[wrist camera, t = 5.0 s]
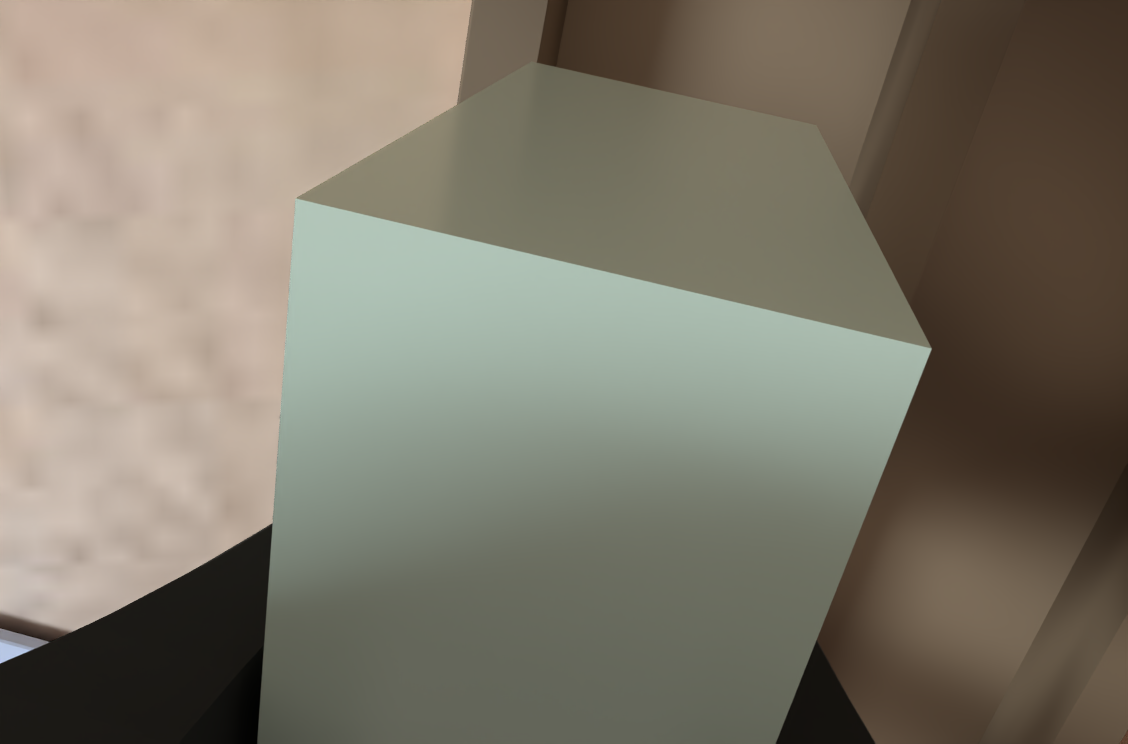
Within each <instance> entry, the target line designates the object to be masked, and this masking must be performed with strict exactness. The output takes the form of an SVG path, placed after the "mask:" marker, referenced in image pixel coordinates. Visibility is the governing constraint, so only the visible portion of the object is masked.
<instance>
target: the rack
mask: <svg viewBox="0 0 1128 744" xmlns="http://www.w3.org/2000/svg"><path fill="white" fill-rule="evenodd" d="M530 62H536V63H540V64H545V65H549V66H554V67H558V68H563V69H567V70H572V71H576V72H581V73H585V74H590V75H594V76H598V77H603V78H607V79H612V80H616V81H621V82H625V83H630V84H634V85H639V86H643V87H648V88H652V89H657V90H661V91H666V92H670V93H675V94H679V95H684V96H688V97H692V98H697V99H701V100H706V101H710V102H715V103H719V104H724V105H728V106H733V107H737V108H742V109H746V110H751V111H755V112H760V113H764V114H769V115H773V116H778V117H782V118H787V119H791V120H795V121H800V122H804V123H809V124H813V125H817V127H818V129H819V131H820V133H821V135H822V137H823V139H824V141H825V143H826V145H827V147H828V149H829V150H830V152H831V154H832V156H833V158H834V160H835V162H836V164H837V166H838V168H839V170H840V172H841V174H842V176H843V178H844V180H845V181H846V183H847V185H848V187H849V189H850V191H851V193H852V195H853V197H854V199H855V201H856V203H857V205H858V207H859V209H860V211H861V212H862V214H863V216H864V218H865V220H866V222H867V224H868V226H869V228H870V230H871V232H872V234H873V236H874V238H875V240H876V242H877V243H878V245H879V247H880V249H881V251H882V253H883V255H884V257H885V259H886V261H887V263H888V265H889V267H890V269H891V271H892V273H893V274H894V276H895V278H896V280H897V282H898V284H899V286H900V288H901V290H902V292H903V294H904V296H905V298H906V300H907V302H908V304H909V305H910V307H911V309H912V311H913V313H914V315H915V317H916V319H917V321H918V323H919V325H920V327H921V329H922V331H923V333H924V335H925V336H926V338H927V340H928V342H929V344H930V346H931V348H932V349H931V352H930V354H929V357H928V359H927V362H926V365H925V367H924V370H923V372H922V375H921V377H920V380H919V382H918V385H917V387H916V390H915V392H914V395H913V397H912V400H911V402H910V405H909V408H908V410H907V413H906V415H905V418H904V420H903V423H902V425H901V428H900V430H899V433H898V435H897V438H896V440H895V443H894V445H893V448H892V450H891V453H890V456H889V458H888V461H887V463H886V466H885V468H884V471H883V473H882V476H881V478H880V481H879V483H878V486H877V488H876V491H875V493H874V496H873V499H872V501H871V504H870V506H869V509H868V511H867V514H866V516H865V519H864V521H863V524H862V526H861V529H860V531H859V534H858V536H857V539H856V541H855V544H854V547H853V549H852V552H851V554H850V557H849V559H848V562H847V564H846V567H845V569H844V572H843V574H842V577H841V579H840V582H839V584H838V587H837V590H836V592H835V595H834V597H833V600H832V602H831V605H830V607H829V610H828V612H827V615H826V617H825V620H824V622H823V625H822V627H821V630H820V632H819V635H818V638H817V641H818V643H819V644H820V646H821V648H822V650H823V652H824V654H825V656H826V657H827V659H828V661H829V663H830V665H831V667H832V668H833V670H834V672H835V674H836V676H837V678H838V679H839V681H840V683H841V685H842V687H843V688H844V690H845V692H846V694H847V695H848V697H849V699H850V701H851V702H852V704H853V706H854V708H855V709H856V711H857V713H858V714H859V716H860V718H861V719H862V721H863V723H864V724H865V726H866V728H867V729H868V731H869V733H870V734H871V736H872V738H873V740H874V741H875V743H876V744H1120V742H1121V740H1122V739H1123V737H1124V736H1125V734H1126V732H1127V731H1128V0H472V5H471V12H470V19H469V26H468V33H467V40H466V47H465V54H464V61H463V67H462V74H461V81H460V88H459V95H458V102H457V105H458V104H460V103H461V102H463V101H465V100H467V99H468V98H470V97H472V96H473V95H475V94H477V93H479V92H480V91H482V90H484V89H486V88H487V87H489V86H491V85H492V84H494V83H496V82H498V81H499V80H501V79H503V78H505V77H506V76H508V75H510V74H511V73H513V72H515V71H517V70H518V69H520V68H522V67H524V66H525V65H527V64H529V63H530Z"/></svg>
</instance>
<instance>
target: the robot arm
mask: <svg viewBox="0 0 1128 744" xmlns="http://www.w3.org/2000/svg"><path fill="white" fill-rule="evenodd" d="M272 526H273V523H272V524H270V525H269V526H267V527H266V528H264V529H262V530H261V531H259V532H257V533H256V534H254V535H252V536H251V537H249V538H247V539H245V540H244V541H242V542H240V543H239V544H237V545H235V546H234V547H232V548H230V549H228V550H227V551H225V552H223V553H222V554H220V555H218V556H217V557H215V558H213V559H212V560H210V561H208V562H206V563H205V564H203V565H201V566H199V567H198V568H196V569H194V570H192V571H191V572H189V573H187V574H185V575H183V576H181V577H180V578H178V579H176V580H174V581H172V582H170V583H168V584H166V585H164V586H163V587H161V588H159V589H157V590H155V591H153V592H151V593H149V594H147V595H145V596H144V597H142V598H140V599H138V600H136V601H134V602H132V603H130V604H128V605H126V606H125V607H123V608H121V609H119V610H117V611H115V612H113V613H111V614H109V615H107V616H105V617H103V618H101V619H99V620H97V621H95V622H93V623H91V624H89V625H86V626H84V627H82V628H80V629H78V630H76V631H73V632H71V633H69V634H67V635H65V636H62V637H60V638H58V639H56V640H54V641H52V642H48V641H45V640H41V639H37V638H34V637H30V636H26V635H23V634H19V633H15V632H12V631H8V630H4V629H1V628H0V744H257V739H258V725H259V710H260V696H261V682H262V668H263V654H264V640H265V625H266V611H267V597H268V583H269V569H270V555H271V540H272ZM776 744H876V743H875V741H874V740H873V738H872V736H871V734H870V733H869V731H868V729H867V728H866V726H865V724H864V723H863V721H862V719H861V718H860V716H859V714H858V713H857V711H856V709H855V708H854V706H853V704H852V702H851V701H850V699H849V697H848V695H847V694H846V692H845V690H844V688H843V687H842V685H841V683H840V681H839V679H838V678H837V676H836V674H835V672H834V670H833V668H832V667H831V665H830V663H829V661H828V659H827V657H826V656H825V654H824V652H823V650H822V648H821V646H820V644H819V643H818V641H817V640H816V643H815V645H814V648H813V650H812V653H811V655H810V658H809V660H808V663H807V665H806V668H805V670H804V673H803V675H802V678H801V681H800V683H799V686H798V688H797V691H796V693H795V696H794V698H793V701H792V703H791V706H790V708H789V711H788V713H787V716H786V718H785V721H784V723H783V726H782V729H781V731H780V734H779V736H778V739H777V741H776Z"/></svg>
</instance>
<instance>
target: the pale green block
mask: <svg viewBox="0 0 1128 744" xmlns="http://www.w3.org/2000/svg"><path fill="white" fill-rule="evenodd" d="M931 349H932V348H931V346H930V344H929V342H928V340H927V338H926V336H925V335H924V333H923V331H922V329H921V327H920V325H919V323H918V321H917V319H916V317H915V315H914V313H913V311H912V309H911V307H910V305H909V304H908V302H907V300H906V298H905V296H904V294H903V292H902V290H901V288H900V286H899V284H898V282H897V280H896V278H895V276H894V274H893V273H892V271H891V269H890V267H889V265H888V263H887V261H886V259H885V257H884V255H883V253H882V251H881V249H880V247H879V245H878V243H877V242H876V240H875V238H874V236H873V234H872V232H871V230H870V228H869V226H868V224H867V222H866V220H865V218H864V216H863V214H862V212H861V211H860V209H859V207H858V205H857V203H856V201H855V199H854V197H853V195H852V193H851V191H850V189H849V187H848V185H847V183H846V181H845V180H844V178H843V176H842V174H841V172H840V170H839V168H838V166H837V164H836V162H835V160H834V158H833V156H832V154H831V152H830V150H829V149H828V147H827V145H826V143H825V141H824V139H823V137H822V135H821V133H820V131H819V129H818V127H817V125H813V124H809V123H804V122H800V121H795V120H791V119H787V118H782V117H778V116H773V115H769V114H764V113H760V112H755V111H751V110H746V109H742V108H737V107H733V106H728V105H724V104H719V103H715V102H710V101H706V100H701V99H697V98H692V97H688V96H684V95H679V94H675V93H670V92H666V91H661V90H657V89H652V88H648V87H643V86H639V85H634V84H630V83H625V82H621V81H616V80H612V79H607V78H603V77H598V76H594V75H590V74H585V73H581V72H576V71H572V70H567V69H563V68H558V67H554V66H549V65H545V64H540V63H536V62H530V63H529V64H527V65H525V66H524V67H522V68H520V69H518V70H517V71H515V72H513V73H511V74H510V75H508V76H506V77H505V78H503V79H501V80H499V81H498V82H496V83H494V84H492V85H491V86H489V87H487V88H486V89H484V90H482V91H480V92H479V93H477V94H475V95H473V96H472V97H470V98H468V99H467V100H465V101H463V102H461V103H460V104H458V105H456V106H454V107H453V108H451V109H449V110H448V111H446V112H444V113H442V114H441V115H439V116H437V117H435V118H434V119H432V120H430V121H429V122H427V123H425V124H423V125H422V126H420V127H418V128H416V129H415V130H413V131H411V132H410V133H408V134H406V135H404V136H403V137H401V138H399V139H397V140H396V141H394V142H392V143H391V144H389V145H387V146H385V147H384V148H382V149H380V150H379V151H377V152H375V153H373V154H372V155H370V156H368V157H366V158H365V159H363V160H361V161H360V162H358V163H356V164H354V165H353V166H351V167H349V168H347V169H346V170H344V171H342V172H341V173H339V174H337V175H335V176H334V177H332V178H330V179H328V180H327V181H325V182H323V183H322V184H320V185H318V186H316V187H315V188H313V189H311V190H309V191H308V192H306V193H304V194H303V195H301V196H299V197H297V198H296V201H295V215H294V229H293V243H292V257H291V271H290V286H289V300H288V314H287V328H286V342H285V356H284V371H283V385H282V399H281V413H280V427H279V441H278V456H277V470H276V484H275V498H274V512H273V526H272V540H271V555H270V569H269V583H268V597H267V611H266V625H265V640H264V654H263V668H262V682H261V696H260V710H259V725H258V739H257V744H776V741H777V739H778V736H779V734H780V731H781V729H782V726H783V723H784V721H785V718H786V716H787V713H788V711H789V708H790V706H791V703H792V701H793V698H794V696H795V693H796V691H797V688H798V686H799V683H800V681H801V678H802V675H803V673H804V670H805V668H806V665H807V663H808V660H809V658H810V655H811V653H812V650H813V648H814V645H815V643H816V640H817V638H818V635H819V632H820V630H821V627H822V625H823V622H824V620H825V617H826V615H827V612H828V610H829V607H830V605H831V602H832V600H833V597H834V595H835V592H836V590H837V587H838V584H839V582H840V579H841V577H842V574H843V572H844V569H845V567H846V564H847V562H848V559H849V557H850V554H851V552H852V549H853V547H854V544H855V541H856V539H857V536H858V534H859V531H860V529H861V526H862V524H863V521H864V519H865V516H866V514H867V511H868V509H869V506H870V504H871V501H872V499H873V496H874V493H875V491H876V488H877V486H878V483H879V481H880V478H881V476H882V473H883V471H884V468H885V466H886V463H887V461H888V458H889V456H890V453H891V450H892V448H893V445H894V443H895V440H896V438H897V435H898V433H899V430H900V428H901V425H902V423H903V420H904V418H905V415H906V413H907V410H908V408H909V405H910V402H911V400H912V397H913V395H914V392H915V390H916V387H917V385H918V382H919V380H920V377H921V375H922V372H923V370H924V367H925V365H926V362H927V359H928V357H929V354H930V352H931Z"/></svg>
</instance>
